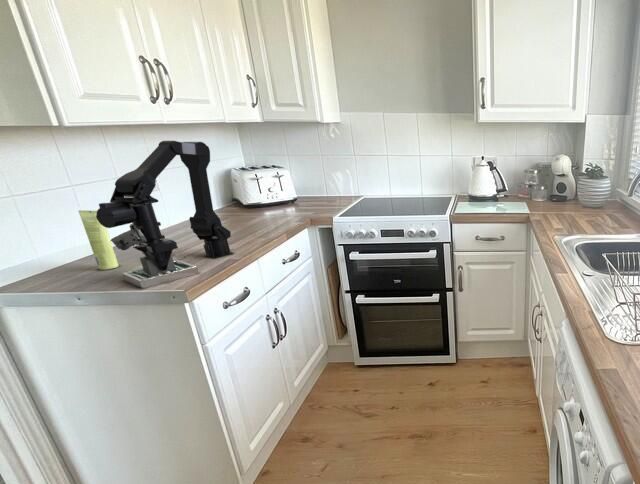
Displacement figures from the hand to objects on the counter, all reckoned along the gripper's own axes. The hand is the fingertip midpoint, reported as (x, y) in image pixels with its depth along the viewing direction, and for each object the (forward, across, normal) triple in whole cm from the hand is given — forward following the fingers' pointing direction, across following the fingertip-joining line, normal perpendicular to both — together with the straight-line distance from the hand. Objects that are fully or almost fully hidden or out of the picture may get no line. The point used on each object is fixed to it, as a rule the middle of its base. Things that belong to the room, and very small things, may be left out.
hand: (159, 268), depth 129 cm
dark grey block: (+1, 0, 0) cm, 1 cm away
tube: (+3, -26, -5) cm, 27 cm away
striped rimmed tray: (+3, 0, 0) cm, 3 cm away
